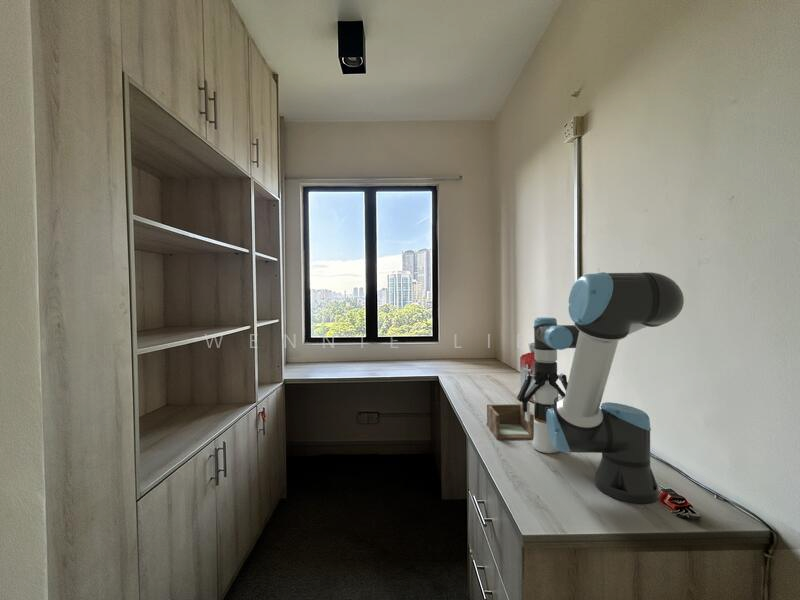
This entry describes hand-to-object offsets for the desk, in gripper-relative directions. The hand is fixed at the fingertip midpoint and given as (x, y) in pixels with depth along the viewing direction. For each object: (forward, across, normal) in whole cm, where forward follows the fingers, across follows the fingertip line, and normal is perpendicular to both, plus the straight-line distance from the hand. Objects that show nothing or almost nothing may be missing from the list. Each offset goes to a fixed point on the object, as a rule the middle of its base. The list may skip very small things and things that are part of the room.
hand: (546, 420), depth 132 cm
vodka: (+10, 0, 0) cm, 10 cm away
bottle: (+10, -19, -61) cm, 65 cm away
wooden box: (+10, +8, -17) cm, 21 cm away
